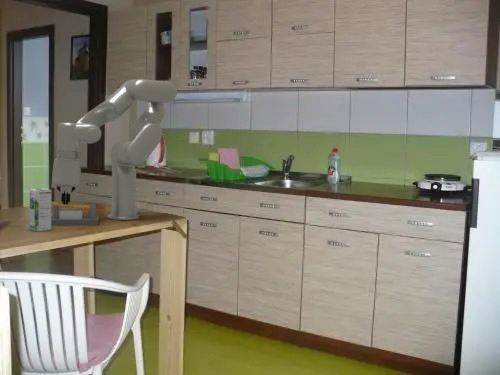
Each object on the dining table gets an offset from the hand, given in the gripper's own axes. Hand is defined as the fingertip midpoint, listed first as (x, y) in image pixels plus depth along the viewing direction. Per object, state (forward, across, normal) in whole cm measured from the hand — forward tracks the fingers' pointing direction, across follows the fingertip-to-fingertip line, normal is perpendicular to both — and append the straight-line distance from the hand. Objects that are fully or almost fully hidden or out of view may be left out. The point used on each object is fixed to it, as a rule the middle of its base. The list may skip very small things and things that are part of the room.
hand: (65, 203), depth 203 cm
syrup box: (+8, +8, +12) cm, 16 cm away
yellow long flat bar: (+1, -3, 0) cm, 3 cm away
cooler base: (+7, -3, 0) cm, 8 cm away
